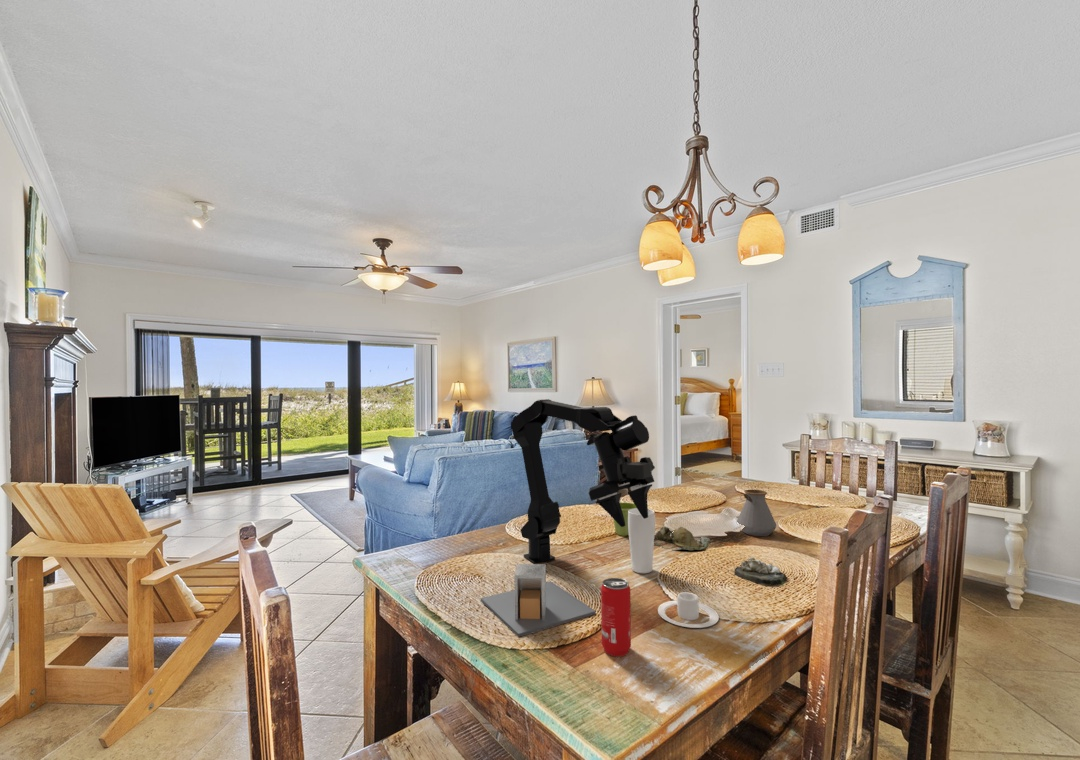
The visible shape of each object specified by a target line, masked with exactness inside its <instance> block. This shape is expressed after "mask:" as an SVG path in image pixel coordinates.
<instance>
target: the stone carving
mask: <svg viewBox="0 0 1080 760" xmlns="http://www.w3.org/2000/svg"><path fill="white" fill-rule="evenodd" d="M733 572H734V576H736V577H737V578H741V579H743V580H745V581H749V582H752V583H755V584H759V585H766V586H772V587H773V586H779V585H783V584H784V583H785V582H787V580H788V577H787V575H786V574H785V573H783V572H782V571H781V569H780V568H779V567H778V566H777V565H772V564H771V563H769V564H767V563H766V562H764V561H761V560H759V559H756V558H755V557H753V556H752V557H749V558H748V559H747V560H744V561H742V562H740V566H737V567H735V568H734V571H733Z"/></svg>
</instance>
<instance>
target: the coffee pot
mask: <svg viewBox="0 0 1080 760" xmlns="http://www.w3.org/2000/svg"><path fill="white" fill-rule="evenodd" d="M743 492H744V494H742V495H740V500H741V501H742V502H744V503H743V507H742V508H741V510H740V513H739V514H738V518H737V519H736V523H737V522H738V523H739V524H741V525H744V526H745V527H744V528H743V529H742V532H743V533H744V534H746V535H750V536H754V537H755V536H756V537H768V536H769V535H771V534H772V533H773V532H774V531H775V530H776V528H777V522H776V520H775V518H774V516H773V514H772V512H771V510H770V507H769V505H768V503H767V501H766V495H768V492H767V491H765V490H761V489H744V490H743ZM742 496H743V497H744V499H745V500H743V499H742Z"/></svg>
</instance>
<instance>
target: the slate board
mask: <svg viewBox="0 0 1080 760" xmlns="http://www.w3.org/2000/svg"><path fill="white" fill-rule="evenodd" d="M480 601H481V602H482V604H483V605H484V606H485V607H487V608H488V609H489V610H490V612H492V613H493V614H494V615H495V617H497V618H498V620H500V621H501V622H502V623H503V624H504V625H505V626H506V627H507V628H509V630H511V631H512V632H513V634H515V635H516V636H517V638H520V637H522V636H523V637H524V636H526V635H527V636H528V635H530V634H533V633H537V632H541V631H543V630H546V629H550V628H553V627H556V626H557V627H558V626H559V625H564V624H566V623H571V622H574V621H577V620H580V619H583V618H587V617H590V616H593V615H596V613H597V611H596V609H593V608H592V607H590V605H588V604H586V603H584V602H583V601H582V600H580V599H578V598H577V597H575V596H574V595H572V594H571V593H569V592H568V591H567V590H565V589H564V588H562V587H560V586H559V585H557V584H556V583H554V582H553V581H551V580H550V581H546V614H545V621H542V608H541V615H540V619H520V612H519V617H518V620H515V589H513V590H509V591H505V592H499V593H497V594H492V595H488V596H484V597H481V598H480Z"/></svg>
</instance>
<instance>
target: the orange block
mask: <svg viewBox="0 0 1080 760" xmlns="http://www.w3.org/2000/svg"><path fill="white" fill-rule="evenodd" d="M540 615H541V591H537V590H522V592H521V596H520V619H540Z"/></svg>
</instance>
